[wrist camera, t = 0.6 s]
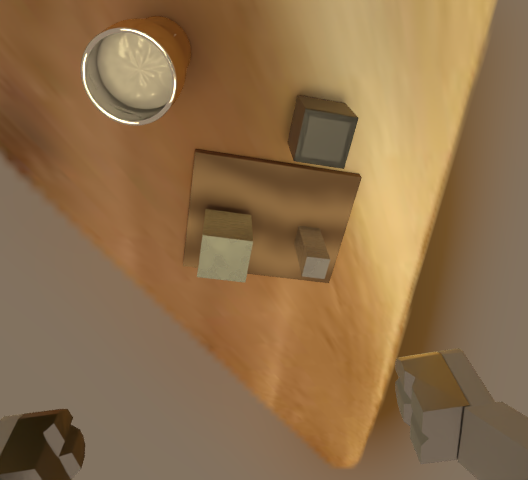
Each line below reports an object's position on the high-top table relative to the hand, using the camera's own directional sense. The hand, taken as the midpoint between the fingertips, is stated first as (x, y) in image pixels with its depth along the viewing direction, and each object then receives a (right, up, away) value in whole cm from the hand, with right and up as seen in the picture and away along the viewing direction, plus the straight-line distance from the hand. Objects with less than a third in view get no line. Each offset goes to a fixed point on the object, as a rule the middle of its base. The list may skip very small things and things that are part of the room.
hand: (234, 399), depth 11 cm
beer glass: (-10, +23, +33) cm, 41 cm away
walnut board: (+1, +6, +43) cm, 44 cm away
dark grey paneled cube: (+6, +17, +37) cm, 41 cm away
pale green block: (-4, +6, +42) cm, 42 cm away
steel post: (+6, +4, +43) cm, 44 cm away
